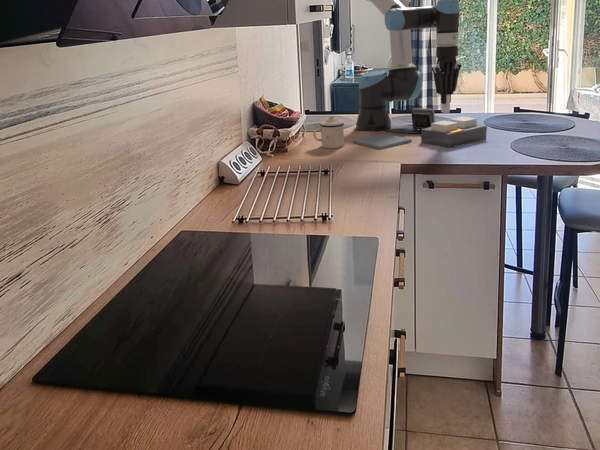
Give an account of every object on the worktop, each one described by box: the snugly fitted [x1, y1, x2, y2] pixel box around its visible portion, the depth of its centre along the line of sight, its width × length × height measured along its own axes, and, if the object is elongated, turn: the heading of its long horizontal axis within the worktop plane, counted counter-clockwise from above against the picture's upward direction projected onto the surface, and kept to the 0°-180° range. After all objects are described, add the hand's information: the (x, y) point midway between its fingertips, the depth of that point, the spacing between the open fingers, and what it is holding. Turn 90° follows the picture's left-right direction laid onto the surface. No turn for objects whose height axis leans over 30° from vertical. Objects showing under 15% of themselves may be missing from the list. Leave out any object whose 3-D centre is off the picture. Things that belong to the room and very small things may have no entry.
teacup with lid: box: [312, 115, 345, 149], centre depth 220 cm, size 12×9×12 cm
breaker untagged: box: [449, 116, 478, 128], centre depth 219 cm, size 7×7×3 cm
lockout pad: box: [352, 133, 413, 150], centre depth 223 cm, size 16×16×1 cm
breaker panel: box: [420, 123, 488, 149], centre depth 218 cm, size 14×20×5 cm
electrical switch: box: [410, 107, 436, 130], centre depth 238 cm, size 9×5×9 cm, turn 57°
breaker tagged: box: [431, 120, 458, 133], centre depth 214 cm, size 7×7×3 cm
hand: (445, 112), depth 212 cm, fingers closed
